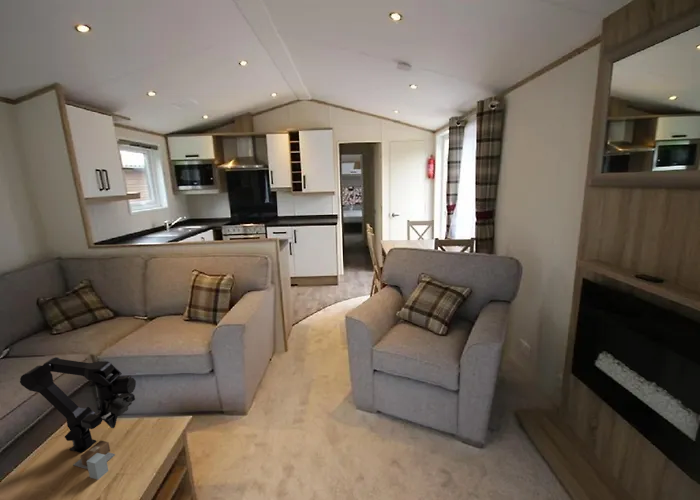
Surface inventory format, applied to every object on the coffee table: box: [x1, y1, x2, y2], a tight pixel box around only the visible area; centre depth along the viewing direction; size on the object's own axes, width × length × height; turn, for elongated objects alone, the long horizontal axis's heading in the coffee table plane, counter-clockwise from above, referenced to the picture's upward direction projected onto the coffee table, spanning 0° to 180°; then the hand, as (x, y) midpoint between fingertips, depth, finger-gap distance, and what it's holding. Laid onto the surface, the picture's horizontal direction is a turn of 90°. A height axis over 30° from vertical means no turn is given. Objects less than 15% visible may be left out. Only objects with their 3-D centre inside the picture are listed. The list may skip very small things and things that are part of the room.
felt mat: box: [73, 451, 116, 470], centre depth 131 cm, size 11×8×1 cm
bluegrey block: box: [86, 453, 109, 481], centre depth 124 cm, size 4×4×7 cm
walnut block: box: [80, 440, 111, 466], centre depth 131 cm, size 4×4×8 cm
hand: (113, 427), depth 138 cm, fingers closed
